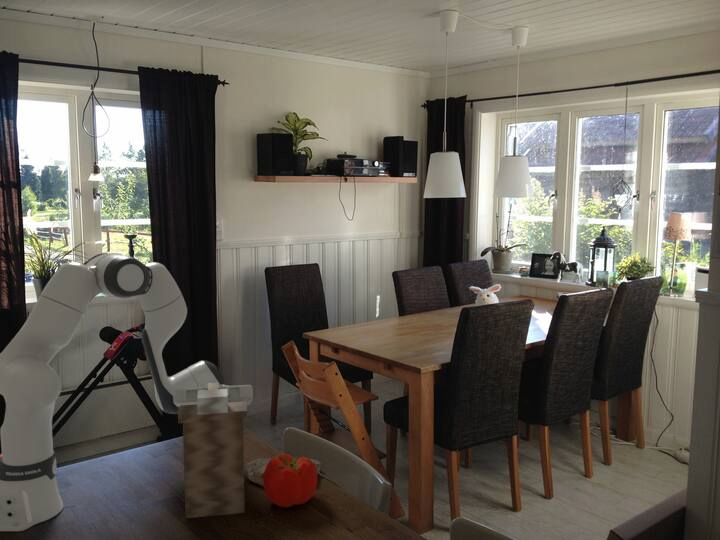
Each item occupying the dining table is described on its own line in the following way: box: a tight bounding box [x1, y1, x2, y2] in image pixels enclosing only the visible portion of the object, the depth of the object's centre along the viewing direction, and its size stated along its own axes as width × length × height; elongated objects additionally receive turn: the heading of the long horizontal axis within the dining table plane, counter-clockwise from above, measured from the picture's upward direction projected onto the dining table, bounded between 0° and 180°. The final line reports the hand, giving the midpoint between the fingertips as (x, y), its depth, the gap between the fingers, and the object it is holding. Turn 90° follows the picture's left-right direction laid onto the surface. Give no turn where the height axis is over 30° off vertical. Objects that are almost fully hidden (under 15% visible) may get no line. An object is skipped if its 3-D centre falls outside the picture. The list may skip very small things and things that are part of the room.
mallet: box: [197, 383, 228, 415], centre depth 163 cm, size 7×16×4 cm, turn 12°
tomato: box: [263, 453, 319, 508], centre depth 167 cm, size 13×14×12 cm
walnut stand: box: [177, 401, 248, 519], centre depth 161 cm, size 16×7×26 cm, turn 102°
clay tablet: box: [245, 457, 322, 487], centre depth 181 cm, size 14×5×20 cm
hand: (213, 389), depth 166 cm, fingers open, 3 cm apart
